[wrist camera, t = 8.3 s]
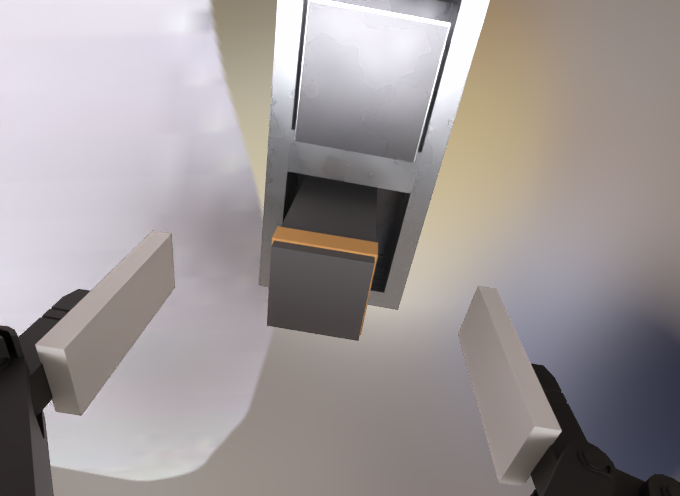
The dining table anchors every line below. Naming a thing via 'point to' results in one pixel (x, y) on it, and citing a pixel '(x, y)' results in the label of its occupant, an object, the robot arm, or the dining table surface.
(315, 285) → the plug
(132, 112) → the dining table surface
